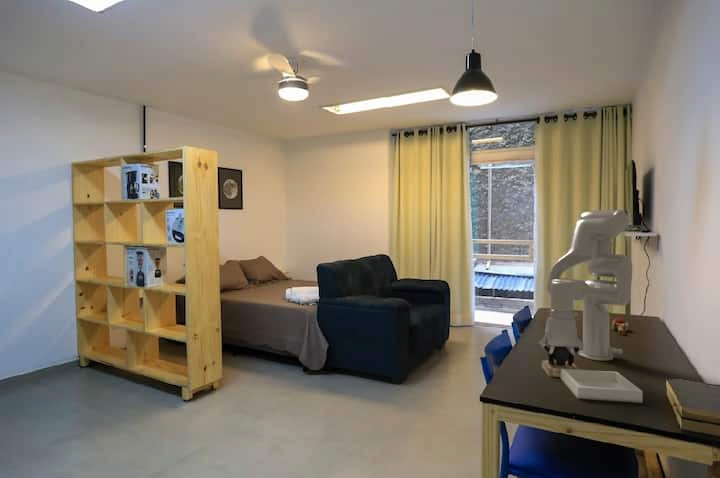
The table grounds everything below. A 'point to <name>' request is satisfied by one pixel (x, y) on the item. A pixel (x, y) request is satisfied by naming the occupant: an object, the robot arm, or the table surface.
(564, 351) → the light bulb
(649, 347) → the table surface
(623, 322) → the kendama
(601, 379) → the tray
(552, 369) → the beige flat square frame
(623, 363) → the table surface
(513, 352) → the table surface
